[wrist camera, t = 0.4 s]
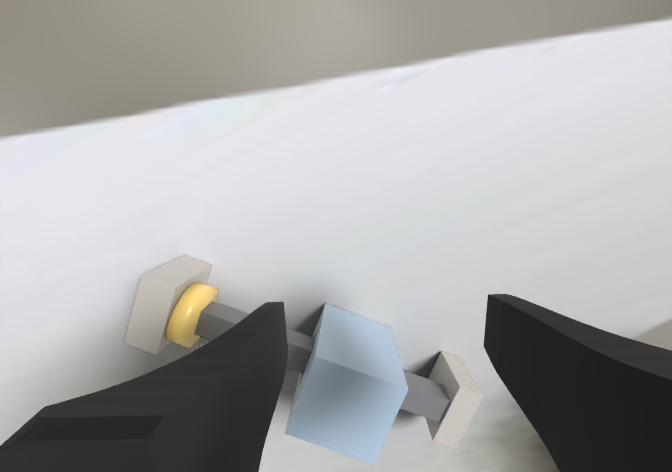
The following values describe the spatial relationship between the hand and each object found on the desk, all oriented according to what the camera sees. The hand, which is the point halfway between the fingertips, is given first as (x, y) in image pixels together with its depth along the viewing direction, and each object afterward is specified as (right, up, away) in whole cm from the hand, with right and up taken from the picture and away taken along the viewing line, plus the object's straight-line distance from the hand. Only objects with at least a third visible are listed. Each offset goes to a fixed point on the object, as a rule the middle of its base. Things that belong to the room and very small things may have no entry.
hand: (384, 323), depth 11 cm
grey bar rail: (-4, -4, +12) cm, 13 cm away
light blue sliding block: (-1, -5, +12) cm, 13 cm away
